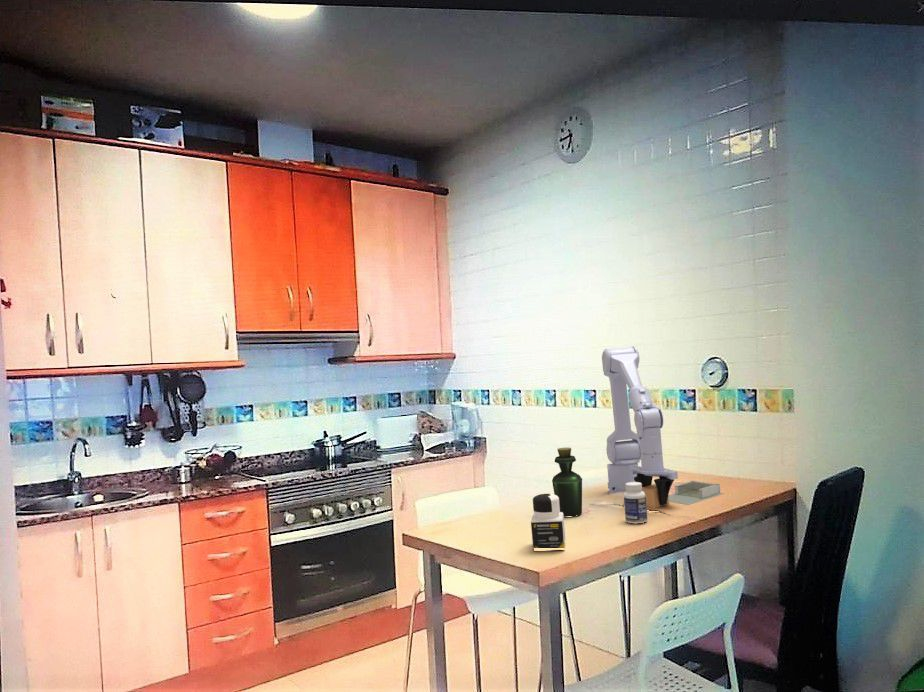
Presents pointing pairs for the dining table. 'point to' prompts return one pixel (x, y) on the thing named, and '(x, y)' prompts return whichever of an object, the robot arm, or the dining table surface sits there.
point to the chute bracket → (697, 489)
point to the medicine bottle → (547, 522)
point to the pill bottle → (635, 503)
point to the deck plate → (687, 499)
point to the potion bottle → (567, 484)
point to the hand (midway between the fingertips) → (655, 503)
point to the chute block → (652, 497)
